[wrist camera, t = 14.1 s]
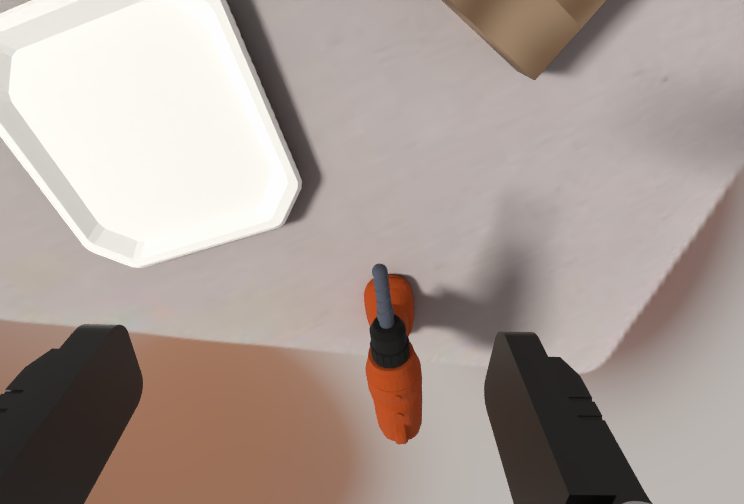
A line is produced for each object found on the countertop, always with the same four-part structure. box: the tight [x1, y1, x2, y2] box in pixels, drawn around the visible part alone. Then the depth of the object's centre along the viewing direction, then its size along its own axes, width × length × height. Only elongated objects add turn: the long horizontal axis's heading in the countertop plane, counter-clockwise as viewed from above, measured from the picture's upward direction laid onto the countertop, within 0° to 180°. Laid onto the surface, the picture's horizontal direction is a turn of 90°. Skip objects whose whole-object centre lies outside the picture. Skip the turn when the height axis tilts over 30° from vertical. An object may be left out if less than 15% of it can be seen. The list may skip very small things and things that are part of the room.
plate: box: [0, 0, 302, 268], centre depth 34 cm, size 21×21×2 cm
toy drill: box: [364, 264, 422, 444], centre depth 35 cm, size 5×19×15 cm, turn 7°
